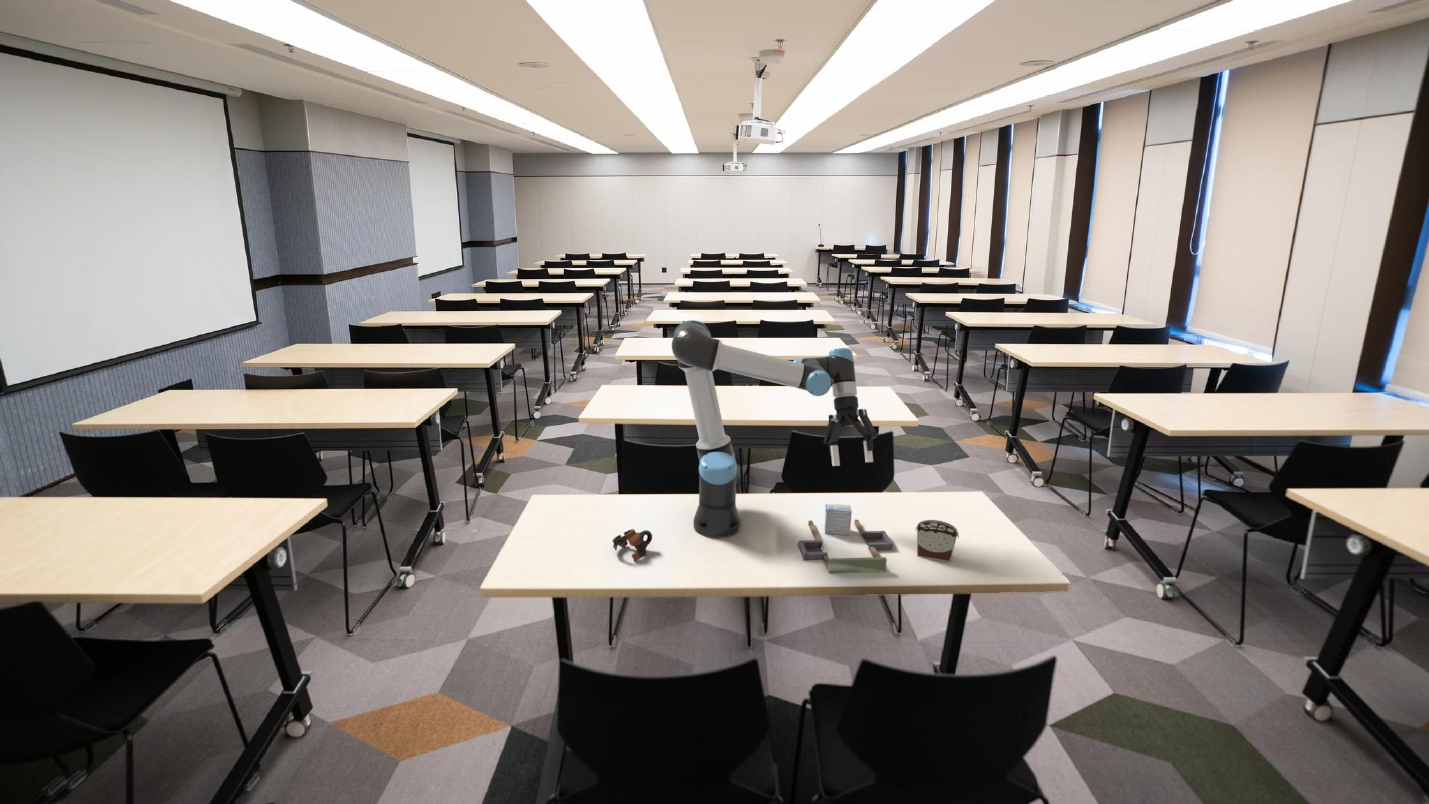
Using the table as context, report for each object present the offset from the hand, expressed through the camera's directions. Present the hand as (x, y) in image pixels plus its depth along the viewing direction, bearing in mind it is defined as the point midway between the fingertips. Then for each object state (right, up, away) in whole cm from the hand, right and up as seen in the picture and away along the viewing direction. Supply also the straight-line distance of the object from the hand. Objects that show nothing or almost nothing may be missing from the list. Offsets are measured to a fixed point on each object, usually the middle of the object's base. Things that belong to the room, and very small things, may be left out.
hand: (852, 464), depth 212 cm
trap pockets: (-3, -25, -6) cm, 26 cm away
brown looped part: (-67, -26, -10) cm, 73 cm away
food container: (+23, -26, -8) cm, 36 cm away
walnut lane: (-3, -25, -4) cm, 25 cm away
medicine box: (-4, -22, +4) cm, 23 cm away
